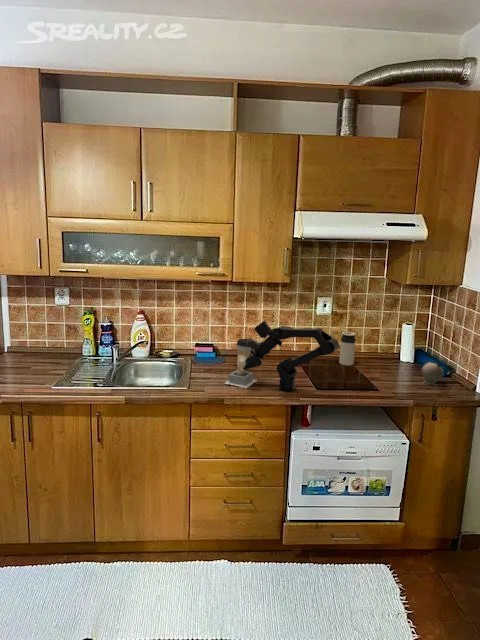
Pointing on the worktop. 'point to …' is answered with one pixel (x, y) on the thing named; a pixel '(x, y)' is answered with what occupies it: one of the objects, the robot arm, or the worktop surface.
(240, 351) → the coffee cup
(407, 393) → the worktop surface
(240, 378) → the socket
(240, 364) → the peg
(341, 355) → the travel mug
